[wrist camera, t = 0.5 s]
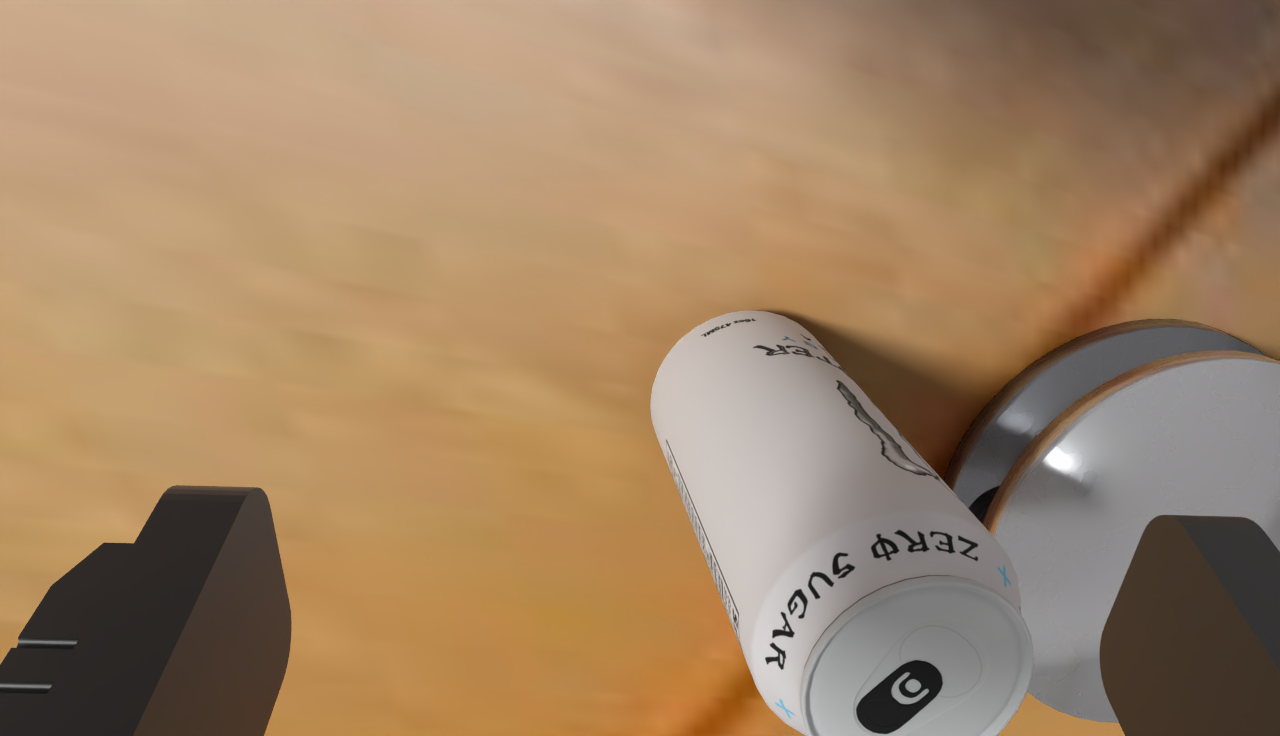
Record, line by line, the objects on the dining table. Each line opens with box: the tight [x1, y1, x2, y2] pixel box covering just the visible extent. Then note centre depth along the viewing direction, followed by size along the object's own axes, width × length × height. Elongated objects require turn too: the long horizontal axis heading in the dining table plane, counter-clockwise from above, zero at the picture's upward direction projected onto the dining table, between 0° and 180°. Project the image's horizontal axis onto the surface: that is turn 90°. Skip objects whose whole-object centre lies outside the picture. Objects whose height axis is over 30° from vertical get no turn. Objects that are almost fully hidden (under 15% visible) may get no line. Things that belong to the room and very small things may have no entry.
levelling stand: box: [944, 319, 1280, 723], centre depth 37 cm, size 14×14×4 cm
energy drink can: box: [650, 310, 1034, 736], centre depth 27 cm, size 6×6×15 cm
